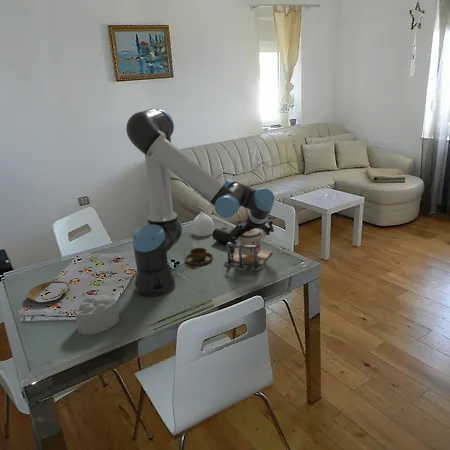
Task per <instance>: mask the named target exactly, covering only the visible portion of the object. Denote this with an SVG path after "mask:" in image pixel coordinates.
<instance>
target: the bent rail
mask: <svg viewBox="0 0 450 450" xmlns="http://www.w3.org/2000/svg"><path fill="white" fill-rule="evenodd" d="M231 246H232V247H234V248H236V249H238V252H239V263H238V265H236V263H235V262H233V261H231V254H230V247H231ZM242 249H254V261H255V265H250V270H251V271H253V272H259V270H260V271H261V270H262V269H263V267H262V266H260V265H258V261H257V247H256V245H240V244H237V243H236V244H234V243H230V242H228V243H227V244H226V254H227V261H225V262H224V263H223V265H224V267H226V268H231V267H234V266H235V265H236V266H235V269H236V271H239V272H240V271H242V270H243V271H246V270H247V269H246V268H247V264H242ZM245 269H246V270H245ZM243 271H242V272H243Z"/></svg>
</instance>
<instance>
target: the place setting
mask: <svg viewBox="0 0 450 450" xmlns="http://www.w3.org/2000/svg"><path fill="white" fill-rule="evenodd" d="M234 253H235V247H232V246H230V257H231V259H232V258H233V257H234ZM207 257H209V258H210V259H209V260H206V261H204V260H205V259H206V258H207ZM190 258H191V260H192V261H195V262H191V261H189V259H190ZM212 260H213V254H212V253H210V252H208V251H207V249H206V248H203V247H196V248H195V247H194V248H193V249H191V250H190V253H189V254H188V255H186V256H185V259H184V261H185V262H186V263H187V264H188V265H185V267H187V268H189V269H196V266H204V265H207V264H209V263H210V262H212Z"/></svg>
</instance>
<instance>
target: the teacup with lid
mask: <svg viewBox="0 0 450 450" xmlns="http://www.w3.org/2000/svg"><path fill="white" fill-rule="evenodd" d="M261 233H262V232H261V231H260V229H256V228H255V229H252V230H250V231H247V232H246V233H244V234H243V235H241V236H240V240H239V245H256V247H257V254H259V253H260V251H261V250H262V247H261V241H262V238H261ZM242 254H244V255H254V249H242Z"/></svg>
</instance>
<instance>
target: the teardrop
mask: <svg viewBox="0 0 450 450" xmlns="http://www.w3.org/2000/svg"><path fill="white" fill-rule="evenodd" d="M214 230H215V224H214V221H213V220H212V218H211V217H210V216H209V215H207V214H206V213H205V212H204V211H203V210H201V211H200V213H199V214H198V215H196V216H195V218H194V220H193V221H192V234H193V235H195V236H196V237H197V236H198V237H206V236H210V235H211V236H212V235H213V231H214Z"/></svg>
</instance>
